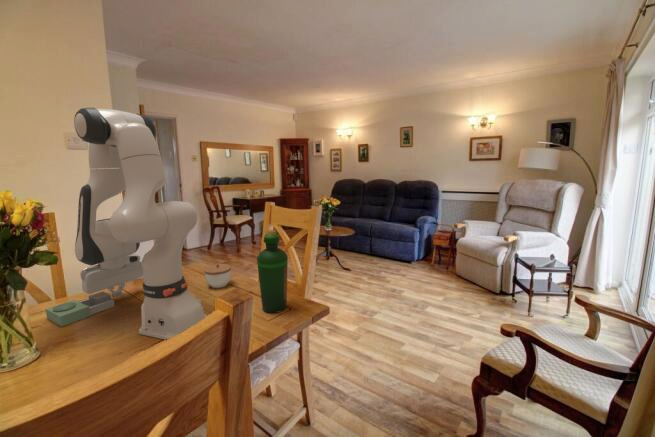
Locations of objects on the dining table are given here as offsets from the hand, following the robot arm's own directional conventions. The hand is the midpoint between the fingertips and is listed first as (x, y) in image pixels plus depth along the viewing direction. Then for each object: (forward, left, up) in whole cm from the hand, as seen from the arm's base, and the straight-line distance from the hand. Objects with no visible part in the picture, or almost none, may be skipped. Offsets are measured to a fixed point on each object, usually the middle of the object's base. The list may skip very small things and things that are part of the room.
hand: (117, 295), depth 119 cm
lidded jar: (-23, -29, -2) cm, 37 cm away
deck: (0, +12, -2) cm, 12 cm away
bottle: (-57, -24, -2) cm, 62 cm away
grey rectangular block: (-1, +6, -2) cm, 6 cm away
